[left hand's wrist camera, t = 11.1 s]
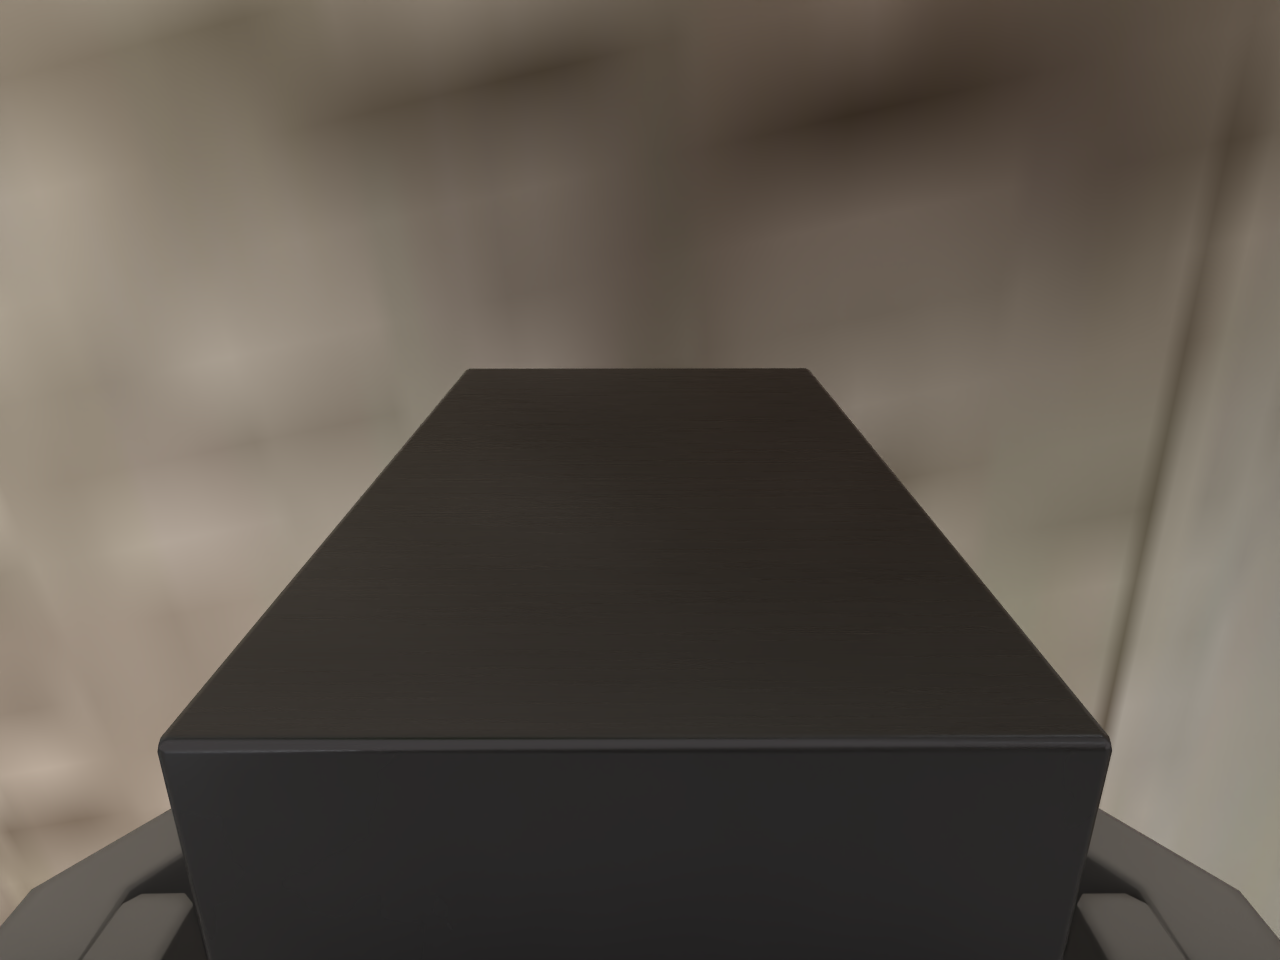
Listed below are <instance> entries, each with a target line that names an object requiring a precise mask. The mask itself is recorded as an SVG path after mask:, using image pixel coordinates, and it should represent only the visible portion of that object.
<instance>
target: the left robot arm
mask: <svg viewBox="0 0 1280 960" xmlns="http://www.w3.org/2000/svg"><path fill="white" fill-rule="evenodd" d="M0 960H208V956H207V952H206V948H205V944H204V940H203V936H202V932H201V927H200V923H199V919H198V915H197V911H196V907H195V903H194V899H193V895H192V891H191V887H190V883H189V878H188V874H187V870H186V866H185V862H184V858H183V854H182V850H181V846H180V842H179V838H178V834H177V829H176V825H175V821H174V817H173V813H172V809H170V810H168V811H166V812H165V813H163V814H161V815H159V816H158V817H156V818H154V819H152V820H151V821H149V822H147V823H146V824H144V825H142V826H140V827H139V828H137V829H135V830H133V831H132V832H130V833H128V834H127V835H125V836H123V837H121V838H120V839H118V840H116V841H114V842H113V843H111V844H109V845H108V846H106V847H104V848H102V849H101V850H99V851H97V852H96V853H94V854H92V855H90V856H89V857H87V858H85V859H83V860H82V861H80V862H78V863H77V864H75V865H73V866H71V867H70V868H68V869H66V870H64V871H63V872H61V873H59V874H58V875H56V876H54V877H52V878H51V879H49V880H47V881H46V882H44V883H42V884H40V885H39V886H37V887H35V888H33V889H32V890H31V891H30V892H29V893H28V894H27V896H26V897H25V898H24V899H23V900H22V902H21V903H20V904H19V905H18V906H17V908H16V909H15V910H14V911H13V912H12V913H11V915H10V916H9V917H8V918H7V919H6V921H5V922H4V923H3V924H2V925H1V927H0ZM1063 960H1280V940H1279V938H1278V937H1277V936H1276V935H1275V934H1274V932H1273V931H1272V930H1271V929H1270V927H1269V926H1268V925H1267V924H1266V923H1265V921H1264V920H1263V919H1262V918H1261V917H1260V915H1259V914H1258V913H1257V912H1256V910H1255V909H1254V908H1253V907H1252V906H1251V904H1250V903H1249V902H1248V901H1247V899H1246V898H1245V897H1244V896H1243V895H1242V893H1241V892H1240V891H1239V890H1237V889H1235V888H1234V887H1232V886H1230V885H1228V884H1227V883H1225V882H1223V881H1222V880H1220V879H1218V878H1217V877H1215V876H1213V875H1211V874H1210V873H1208V872H1206V871H1205V870H1203V869H1201V868H1200V867H1198V866H1196V865H1194V864H1193V863H1191V862H1189V861H1188V860H1186V859H1184V858H1183V857H1181V856H1179V855H1177V854H1176V853H1174V852H1172V851H1171V850H1169V849H1167V848H1165V847H1164V846H1162V845H1160V844H1159V843H1157V842H1155V841H1154V840H1152V839H1150V838H1148V837H1147V836H1145V835H1143V834H1142V833H1140V832H1138V831H1137V830H1135V829H1133V828H1131V827H1130V826H1128V825H1126V824H1125V823H1123V822H1121V821H1120V820H1118V819H1116V818H1114V817H1113V816H1111V815H1109V814H1108V813H1106V812H1104V811H1103V810H1101V809H1099V808H1098V812H1097V816H1096V820H1095V825H1094V829H1093V833H1092V837H1091V841H1090V846H1089V850H1088V854H1087V858H1086V863H1085V867H1084V871H1083V875H1082V879H1081V884H1080V888H1079V892H1078V896H1077V901H1076V905H1075V909H1074V913H1073V917H1072V922H1071V926H1070V930H1069V934H1068V939H1067V943H1066V947H1065V951H1064V955H1063Z"/></svg>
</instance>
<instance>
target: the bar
mask: <svg viewBox="0 0 1280 960" xmlns="http://www.w3.org/2000/svg"><path fill="white" fill-rule="evenodd" d="M1111 753H1112V747H1111V742H1110V739H1109V736H1108V735H1107V734H1106V732H1105V731H1104V730H1103V729H1102V727H1101V726H1100V725H1099V724H1098V723H1097V721H1096V720H1095V719H1094V718H1093V716H1092V715H1091V714H1090V713H1089V712H1088V710H1087V709H1086V708H1085V707H1084V705H1083V704H1082V703H1081V702H1080V701H1079V699H1078V698H1077V697H1076V696H1075V694H1074V693H1073V692H1072V691H1071V690H1070V688H1069V687H1068V686H1067V685H1066V683H1065V682H1064V681H1063V680H1062V679H1061V677H1060V676H1059V675H1058V674H1057V672H1056V671H1055V670H1054V669H1053V667H1052V666H1051V665H1050V664H1049V663H1048V661H1047V660H1046V659H1045V658H1044V656H1043V655H1042V654H1041V653H1040V652H1039V650H1038V649H1037V648H1036V647H1035V645H1034V644H1033V643H1032V642H1031V641H1030V639H1029V638H1028V637H1027V636H1026V634H1025V633H1024V632H1023V631H1022V630H1021V628H1020V627H1019V626H1018V625H1017V623H1016V622H1015V621H1014V620H1013V619H1012V617H1011V616H1010V615H1009V614H1008V612H1007V611H1006V610H1005V609H1004V608H1003V606H1002V605H1001V604H1000V603H999V601H998V600H997V599H996V598H995V597H994V595H993V594H992V593H991V592H990V590H989V589H988V588H987V587H986V586H985V584H984V583H983V582H982V581H981V579H980V578H979V577H978V576H977V575H976V573H975V572H974V571H973V570H972V568H971V567H970V566H969V565H968V564H967V562H966V561H965V560H964V559H963V557H962V556H961V555H960V554H959V553H958V551H957V550H956V549H955V548H954V546H953V545H952V544H951V543H950V542H949V540H948V539H947V538H946V537H945V535H944V534H943V533H942V532H941V531H940V529H939V528H938V527H937V526H936V524H935V523H934V522H933V521H932V520H931V518H930V517H929V516H928V515H927V513H926V512H925V511H924V510H923V509H922V507H921V506H920V505H919V504H918V502H917V501H916V500H915V499H914V498H913V496H912V495H911V494H910V493H909V491H908V490H907V489H906V488H905V487H904V485H903V484H902V483H901V482H900V480H899V479H898V478H897V477H896V476H895V474H894V473H893V472H892V471H891V469H890V468H889V467H888V466H887V465H886V463H885V462H884V461H883V460H882V458H881V457H880V456H879V455H878V454H877V452H876V451H875V450H874V449H873V447H872V446H871V445H870V444H869V443H868V441H867V440H866V439H865V438H864V436H863V435H862V434H861V433H860V432H859V430H858V429H857V428H856V427H855V425H854V424H853V423H852V422H851V420H850V419H849V418H848V417H847V416H846V414H845V413H844V412H843V411H842V409H841V408H840V407H839V406H838V405H837V403H836V402H835V401H834V400H833V398H832V397H831V396H830V395H829V394H828V392H827V391H826V390H825V389H824V387H823V386H822V385H821V384H820V383H819V381H818V380H817V379H816V378H815V376H814V375H813V374H812V373H811V372H810V370H808V369H806V368H757V369H468V370H466V371H465V373H464V374H463V375H462V376H461V377H460V379H459V380H458V381H457V382H456V383H455V385H454V386H453V387H452V388H451V389H450V391H449V392H448V393H447V394H446V395H445V397H444V398H443V399H442V400H441V401H440V403H439V404H438V405H437V406H436V407H435V409H434V410H433V411H432V412H431V413H430V415H429V416H428V417H427V418H426V419H425V421H424V422H423V423H422V424H421V425H420V427H419V428H418V429H417V430H416V431H415V433H414V434H413V435H412V436H411V437H410V439H409V440H408V441H407V442H406V443H405V445H404V446H403V447H402V448H401V449H400V451H399V452H398V453H397V454H396V455H395V457H394V458H393V459H392V460H391V461H390V463H389V464H388V465H387V466H386V467H385V469H384V470H383V471H382V472H381V473H380V475H379V476H378V477H377V478H376V479H375V481H374V482H373V483H372V484H371V486H370V487H369V488H368V489H367V490H366V492H365V493H364V494H363V495H362V496H361V498H360V499H359V500H358V501H357V502H356V504H355V505H354V506H353V507H352V508H351V510H350V511H349V512H348V513H347V514H346V516H345V517H344V518H343V519H342V520H341V522H340V523H339V524H338V525H337V526H336V528H335V529H334V530H333V531H332V532H331V534H330V535H329V536H328V537H327V538H326V540H325V541H324V542H323V543H322V544H321V546H320V547H319V548H318V549H317V550H316V552H315V553H314V554H313V555H312V556H311V558H310V559H309V560H308V561H307V562H306V564H305V565H304V566H303V567H302V568H301V570H300V571H299V572H298V573H297V574H296V576H295V577H294V578H293V579H292V580H291V582H290V583H289V584H288V585H287V586H286V588H285V589H284V590H283V591H282V592H281V594H280V595H279V596H278V597H277V598H276V600H275V601H274V602H273V603H272V604H271V606H270V607H269V608H268V609H267V610H266V612H265V613H264V614H263V615H262V616H261V618H260V619H259V620H258V621H257V622H256V624H255V625H254V626H253V627H252V628H251V630H250V631H249V632H248V633H247V635H246V636H245V637H244V638H243V639H242V641H241V642H240V643H239V644H238V645H237V647H236V648H235V649H234V650H233V651H232V653H231V654H230V655H229V656H228V657H227V659H226V660H225V661H224V662H223V663H222V665H221V666H220V667H219V668H218V669H217V671H216V672H215V673H214V674H213V675H212V677H211V678H210V679H209V680H208V681H207V683H206V684H205V685H204V686H203V687H202V689H201V690H200V691H199V692H198V693H197V695H196V696H195V697H194V698H193V699H192V701H191V702H190V703H189V704H188V705H187V707H186V708H185V709H184V710H183V711H182V713H181V714H180V715H179V716H178V717H177V719H176V720H175V721H174V722H173V723H172V725H171V726H170V727H169V728H168V729H167V731H166V732H165V733H164V734H163V735H162V737H161V738H160V742H159V745H158V756H159V760H160V764H161V768H162V772H163V776H164V780H165V785H166V789H167V793H168V797H169V801H170V805H171V809H172V813H173V817H174V821H175V825H176V829H177V834H178V838H179V842H180V846H181V850H182V854H183V858H184V862H185V866H186V870H187V874H188V878H189V883H190V887H191V891H192V895H193V899H194V903H195V907H196V911H197V915H198V919H199V923H200V927H201V932H202V936H203V940H204V944H205V948H206V952H207V956H208V960H1063V955H1064V951H1065V947H1066V943H1067V939H1068V934H1069V930H1070V926H1071V922H1072V917H1073V913H1074V909H1075V905H1076V901H1077V896H1078V892H1079V888H1080V884H1081V879H1082V875H1083V871H1084V867H1085V863H1086V858H1087V854H1088V850H1089V846H1090V841H1091V837H1092V833H1093V829H1094V825H1095V820H1096V816H1097V812H1098V808H1099V804H1100V799H1101V795H1102V791H1103V787H1104V782H1105V778H1106V774H1107V770H1108V766H1109V761H1110V757H1111Z"/></svg>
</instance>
